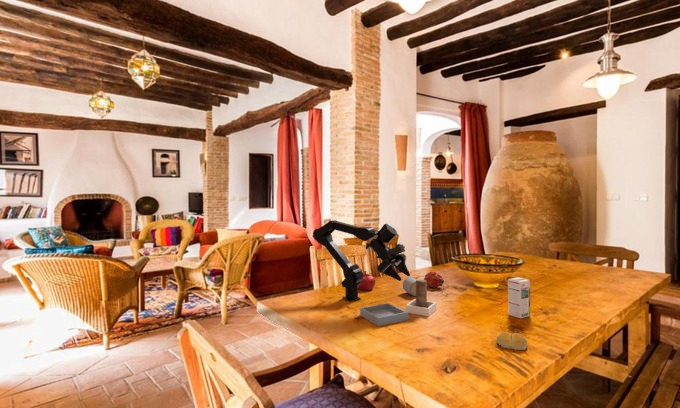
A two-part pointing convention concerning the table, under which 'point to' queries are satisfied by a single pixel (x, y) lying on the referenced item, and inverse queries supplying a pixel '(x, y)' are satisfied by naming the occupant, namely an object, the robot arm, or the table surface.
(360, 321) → the table surface
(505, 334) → the bread roll
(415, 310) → the holder
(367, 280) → the pomegranate
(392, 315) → the tray
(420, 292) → the pepper mill
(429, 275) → the dragon fruit
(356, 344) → the table surface
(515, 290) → the syrup box
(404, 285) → the ceramic mug
